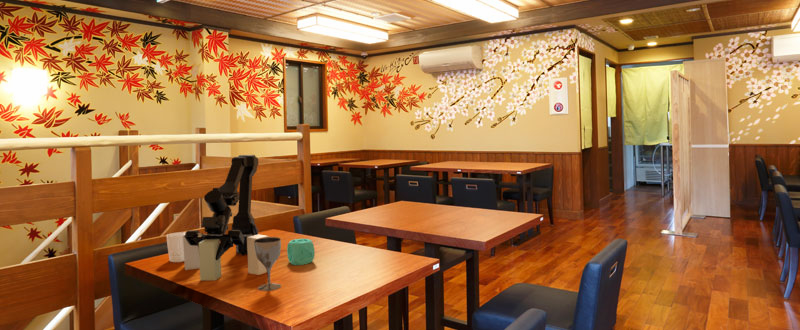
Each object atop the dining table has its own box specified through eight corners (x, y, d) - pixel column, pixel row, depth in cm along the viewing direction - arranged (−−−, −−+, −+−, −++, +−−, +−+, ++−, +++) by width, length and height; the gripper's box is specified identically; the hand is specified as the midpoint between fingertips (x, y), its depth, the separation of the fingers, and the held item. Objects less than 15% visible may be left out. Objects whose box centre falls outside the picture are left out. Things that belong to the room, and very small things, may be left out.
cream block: (259, 269, 176) (258, 234, 175) (269, 271, 173) (268, 235, 172) (248, 272, 172) (246, 237, 171) (258, 275, 169) (257, 238, 168)
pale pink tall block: (199, 264, 183) (198, 231, 182) (200, 268, 179) (198, 233, 178) (184, 266, 181) (183, 232, 180) (184, 270, 177) (183, 235, 176)
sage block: (206, 275, 169) (205, 239, 168) (221, 275, 169) (219, 239, 168) (200, 280, 164) (198, 242, 163) (215, 280, 164) (213, 242, 163)
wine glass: (258, 283, 160) (256, 237, 158) (284, 282, 160) (282, 236, 159) (253, 291, 152) (251, 243, 150) (280, 290, 152) (278, 242, 151)
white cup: (181, 263, 186) (180, 236, 185) (163, 262, 187) (161, 236, 187) (194, 257, 194) (193, 232, 193) (176, 257, 195) (175, 231, 194)
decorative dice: (315, 263, 183) (314, 241, 182) (293, 266, 179) (293, 244, 178) (308, 258, 190) (307, 237, 189) (287, 261, 186) (286, 240, 185)
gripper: (185, 207, 169) (171, 247, 159) (239, 206, 168) (229, 246, 158) (196, 225, 177) (183, 264, 167) (248, 225, 177) (238, 264, 167)
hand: (208, 259), depth 165 cm, fingers closed on sage block, 5 cm apart
